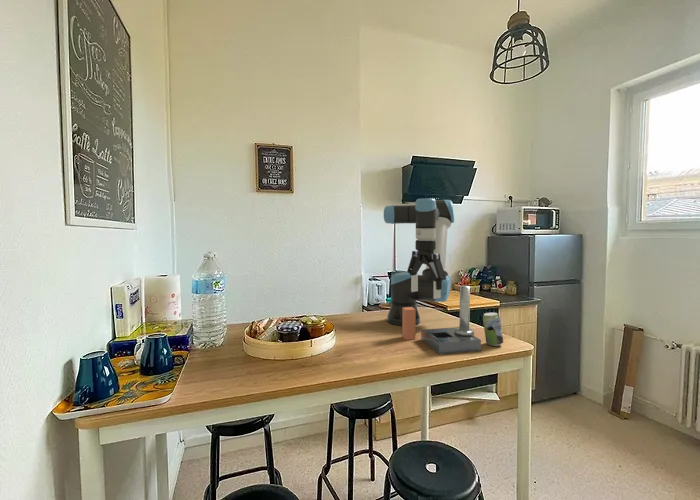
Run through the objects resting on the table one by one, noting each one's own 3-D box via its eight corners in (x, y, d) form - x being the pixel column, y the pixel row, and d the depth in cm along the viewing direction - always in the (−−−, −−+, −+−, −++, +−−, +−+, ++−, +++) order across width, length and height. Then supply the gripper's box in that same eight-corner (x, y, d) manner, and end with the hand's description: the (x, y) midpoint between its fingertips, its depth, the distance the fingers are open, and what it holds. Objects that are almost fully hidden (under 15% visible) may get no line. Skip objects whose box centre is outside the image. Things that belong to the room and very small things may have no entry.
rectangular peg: (402, 336, 141) (402, 307, 140) (411, 336, 142) (411, 307, 141) (405, 339, 137) (405, 309, 136) (415, 339, 138) (415, 309, 137)
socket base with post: (421, 339, 137) (421, 284, 136) (461, 336, 140) (462, 282, 139) (439, 354, 121) (439, 292, 120) (484, 350, 125) (485, 289, 123)
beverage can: (505, 348, 127) (505, 315, 126) (483, 346, 129) (484, 314, 128) (501, 342, 133) (501, 311, 132) (480, 341, 135) (481, 310, 134)
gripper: (398, 238, 141) (398, 289, 143) (439, 242, 119) (439, 302, 121) (413, 237, 145) (413, 287, 147) (456, 241, 122) (455, 300, 124)
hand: (425, 294), depth 134 cm, fingers open, 13 cm apart
